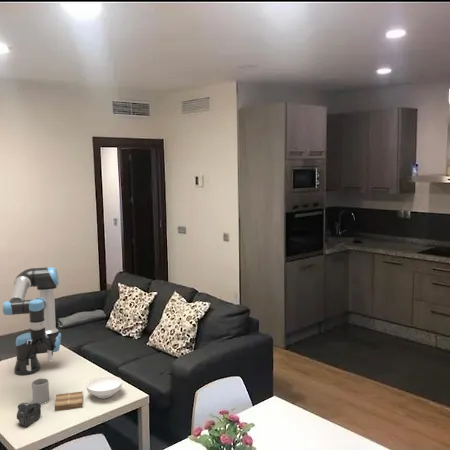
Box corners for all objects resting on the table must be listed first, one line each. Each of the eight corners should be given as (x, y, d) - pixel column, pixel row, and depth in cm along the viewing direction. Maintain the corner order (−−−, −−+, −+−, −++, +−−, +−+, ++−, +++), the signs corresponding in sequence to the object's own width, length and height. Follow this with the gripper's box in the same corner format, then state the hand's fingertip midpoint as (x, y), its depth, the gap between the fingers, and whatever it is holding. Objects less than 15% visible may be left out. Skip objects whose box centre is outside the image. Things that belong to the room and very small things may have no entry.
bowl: (129, 390, 276) (128, 378, 275) (110, 405, 258) (109, 393, 257) (99, 385, 283) (99, 373, 282) (79, 400, 264) (78, 388, 263)
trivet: (56, 399, 266) (56, 394, 266) (82, 395, 270) (82, 391, 270) (54, 411, 253) (54, 406, 252) (82, 407, 256) (82, 402, 256)
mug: (49, 403, 262) (48, 383, 260) (32, 405, 259) (31, 386, 258) (49, 393, 273) (48, 374, 272) (33, 395, 270) (32, 377, 269)
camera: (22, 415, 249) (21, 396, 248) (42, 414, 250) (41, 395, 249) (13, 428, 236) (12, 409, 235) (34, 427, 237) (33, 408, 235)
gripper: (21, 336, 248) (24, 375, 250) (61, 323, 269) (62, 359, 271) (12, 333, 252) (15, 372, 254) (52, 321, 273) (53, 357, 275)
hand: (39, 366), depth 263 cm, fingers open, 13 cm apart
